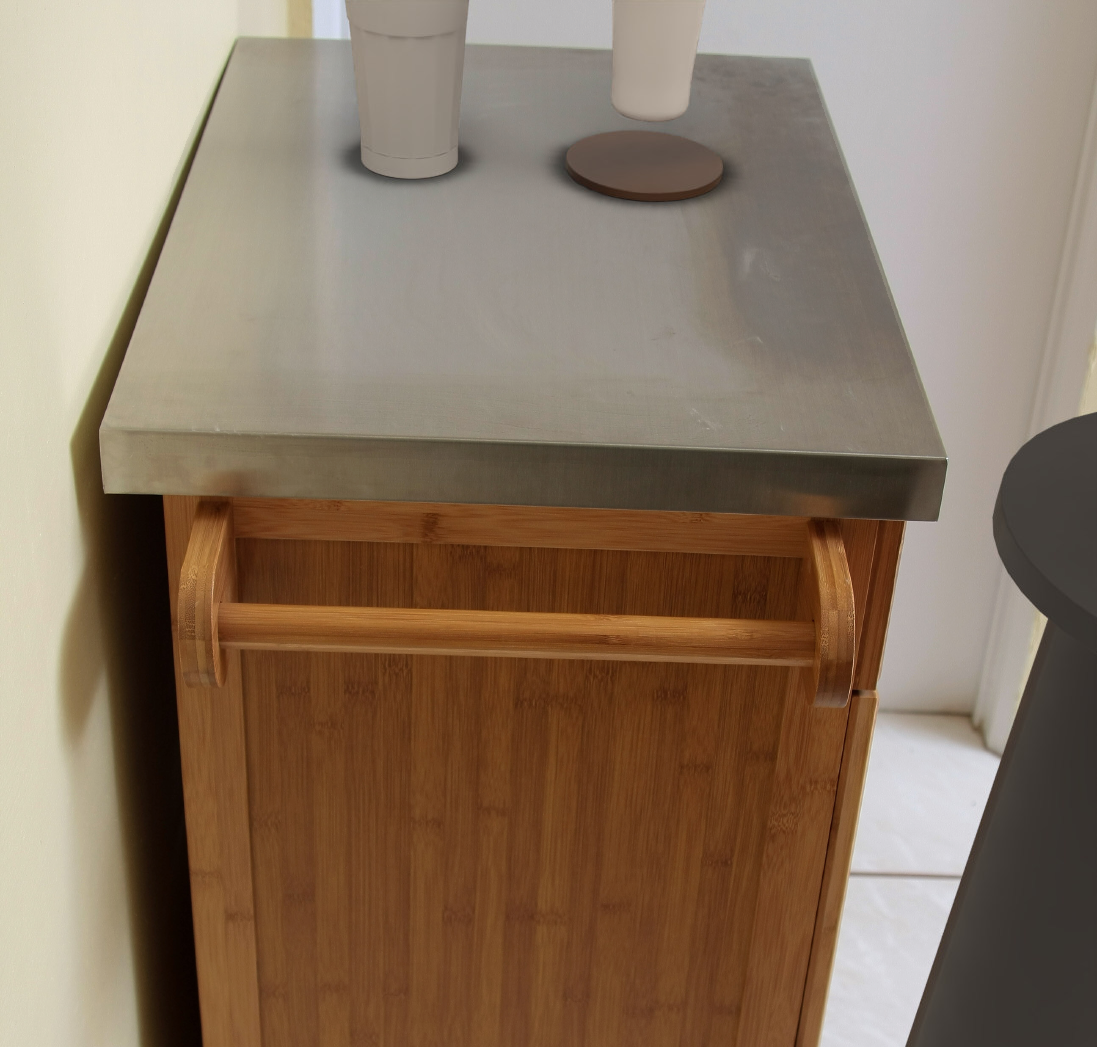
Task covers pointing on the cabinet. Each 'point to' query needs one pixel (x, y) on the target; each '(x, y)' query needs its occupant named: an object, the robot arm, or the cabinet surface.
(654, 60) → the white tumbler
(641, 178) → the coaster
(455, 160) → the cup
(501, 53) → the cabinet surface
